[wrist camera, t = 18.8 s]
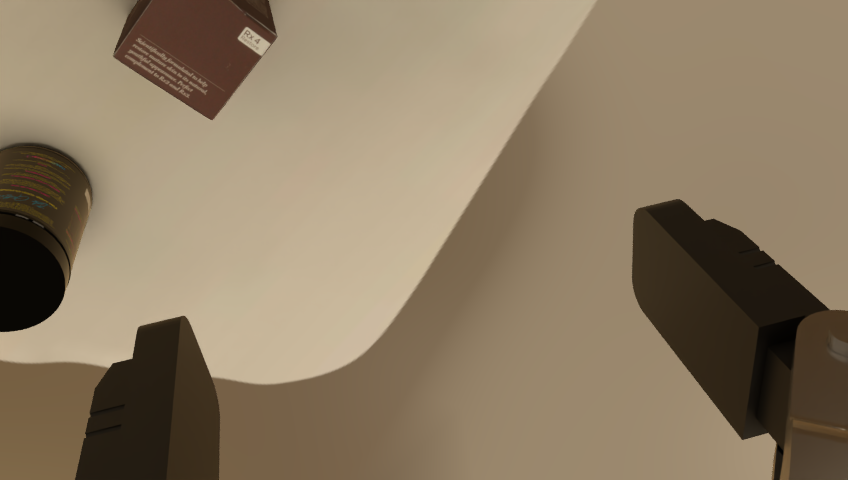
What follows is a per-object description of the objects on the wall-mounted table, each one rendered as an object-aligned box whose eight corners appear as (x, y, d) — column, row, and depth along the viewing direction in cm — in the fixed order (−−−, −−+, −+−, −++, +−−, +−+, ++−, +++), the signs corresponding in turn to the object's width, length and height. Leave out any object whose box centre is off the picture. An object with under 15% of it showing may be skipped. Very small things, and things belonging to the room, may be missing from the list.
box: (124, 16, 44) (107, 55, 37) (183, -68, 42) (176, -42, 36) (214, 78, 47) (212, 124, 40) (273, 2, 45) (279, 37, 39)
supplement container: (-33, 139, 45) (-94, 225, 36) (88, 141, 47) (57, 224, 38) (-13, 235, 49) (-65, 334, 40) (99, 234, 50) (73, 329, 42)
